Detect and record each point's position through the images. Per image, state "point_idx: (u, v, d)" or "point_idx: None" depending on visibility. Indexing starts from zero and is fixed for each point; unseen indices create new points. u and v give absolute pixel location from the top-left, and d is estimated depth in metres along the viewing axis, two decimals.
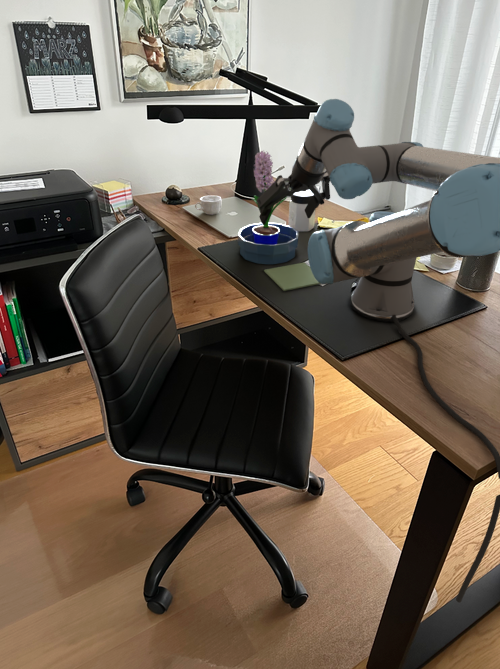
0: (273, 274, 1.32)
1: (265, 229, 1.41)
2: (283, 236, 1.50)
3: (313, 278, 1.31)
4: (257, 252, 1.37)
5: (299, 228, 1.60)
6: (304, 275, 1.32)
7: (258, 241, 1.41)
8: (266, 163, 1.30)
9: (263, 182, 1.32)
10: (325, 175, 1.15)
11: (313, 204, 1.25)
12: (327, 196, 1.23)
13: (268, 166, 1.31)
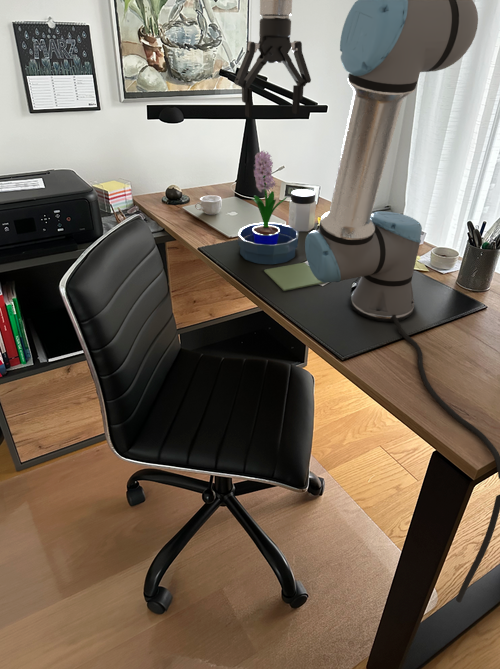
0: (273, 274, 1.32)
1: (265, 229, 1.41)
2: (283, 236, 1.50)
3: (313, 278, 1.31)
4: (257, 252, 1.37)
5: (299, 228, 1.60)
6: (304, 275, 1.32)
7: (258, 241, 1.41)
8: (266, 163, 1.30)
9: (263, 182, 1.32)
10: (295, 42, 1.17)
11: (296, 91, 1.23)
12: (307, 76, 1.21)
13: (268, 166, 1.31)
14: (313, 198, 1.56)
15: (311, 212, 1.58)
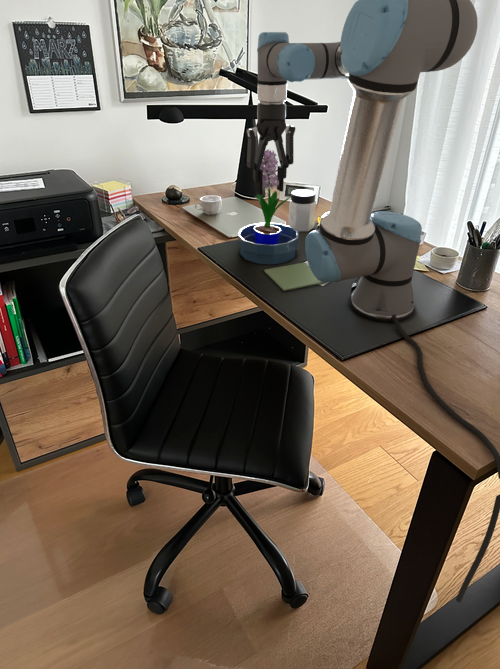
0: (273, 274, 1.32)
1: (266, 228, 1.41)
2: (283, 236, 1.50)
3: (313, 278, 1.31)
4: (257, 252, 1.37)
5: (299, 228, 1.60)
6: (304, 275, 1.32)
7: (259, 240, 1.41)
8: (271, 162, 1.31)
9: (267, 180, 1.33)
10: (290, 126, 1.28)
11: (280, 172, 1.33)
12: (291, 158, 1.32)
13: (273, 165, 1.31)
14: (313, 198, 1.56)
15: (311, 212, 1.58)
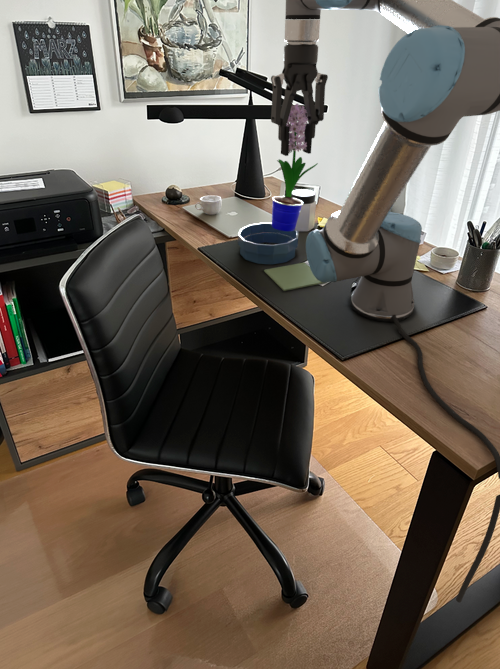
0: (273, 274, 1.32)
1: (287, 199, 1.22)
2: (283, 236, 1.50)
3: (313, 278, 1.31)
4: (257, 252, 1.37)
5: (299, 228, 1.60)
6: (304, 275, 1.32)
7: (278, 212, 1.22)
8: (300, 118, 1.12)
9: (294, 141, 1.14)
10: (321, 74, 1.09)
11: (308, 130, 1.14)
12: (321, 113, 1.13)
13: (302, 123, 1.13)
14: (313, 198, 1.56)
15: (311, 212, 1.58)
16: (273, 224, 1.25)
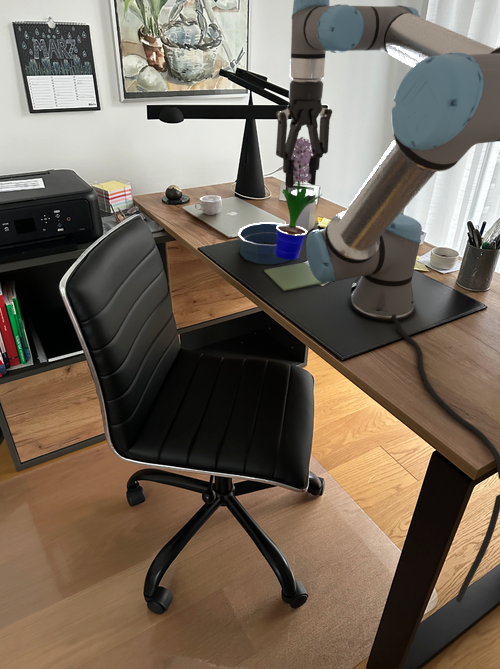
0: (273, 274, 1.32)
1: (291, 228, 1.23)
2: None
3: (313, 278, 1.31)
4: (257, 252, 1.37)
5: None
6: (304, 275, 1.32)
7: (282, 241, 1.23)
8: (305, 151, 1.14)
9: (298, 173, 1.15)
10: (326, 108, 1.11)
11: (312, 162, 1.16)
12: (325, 146, 1.14)
13: (307, 155, 1.14)
14: None
15: (311, 212, 1.58)
16: (277, 252, 1.26)
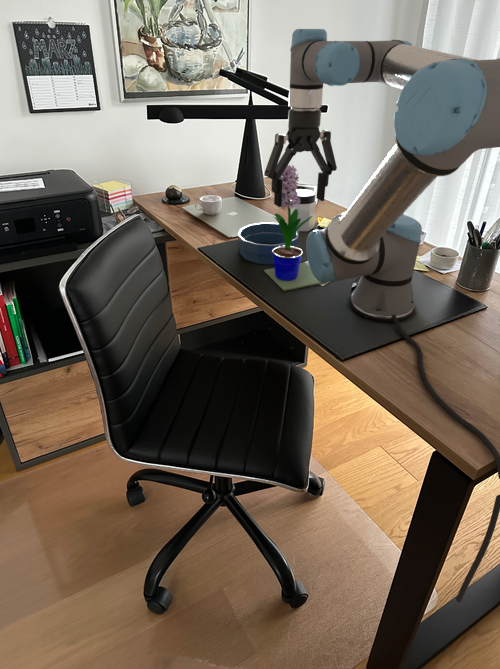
0: (273, 274, 1.32)
1: (287, 251, 1.26)
2: None
3: (313, 278, 1.31)
4: (257, 252, 1.37)
5: (299, 228, 1.60)
6: (304, 275, 1.32)
7: (279, 264, 1.27)
8: (291, 178, 1.16)
9: (287, 199, 1.18)
10: (324, 131, 1.13)
11: (322, 179, 1.19)
12: (333, 164, 1.18)
13: (293, 181, 1.17)
14: (313, 198, 1.56)
15: (311, 212, 1.58)
16: (276, 274, 1.30)
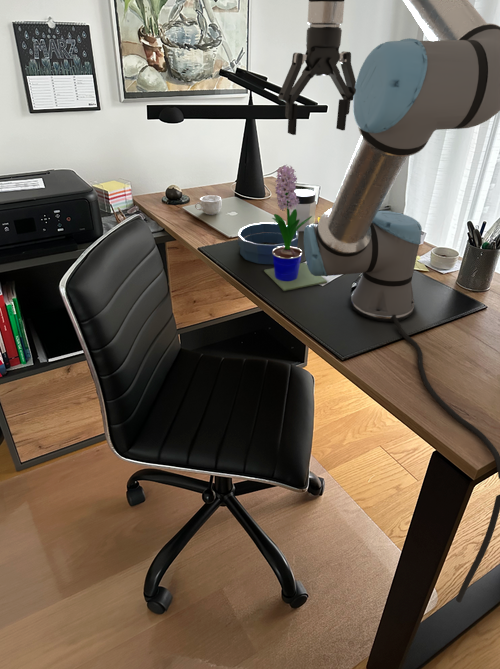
0: (273, 274, 1.32)
1: (286, 251, 1.26)
2: None
3: (313, 278, 1.31)
4: (257, 252, 1.37)
5: (299, 228, 1.60)
6: (304, 275, 1.32)
7: (279, 265, 1.27)
8: (289, 179, 1.15)
9: (286, 200, 1.18)
10: (344, 52, 1.07)
11: (343, 106, 1.13)
12: (355, 89, 1.11)
13: (292, 182, 1.16)
14: (313, 198, 1.56)
15: (311, 212, 1.58)
16: (276, 275, 1.30)
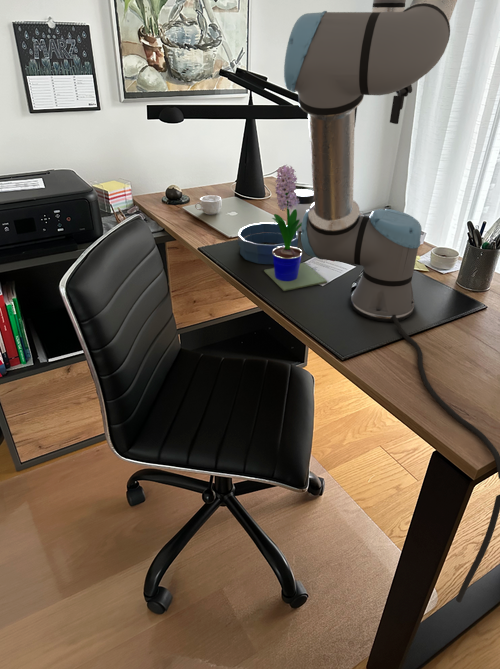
0: (273, 274, 1.32)
1: (286, 251, 1.26)
2: None
3: (313, 278, 1.31)
4: (257, 252, 1.37)
5: (299, 228, 1.60)
6: (304, 275, 1.32)
7: (279, 265, 1.27)
8: (289, 179, 1.15)
9: (286, 200, 1.18)
10: None
11: (397, 102, 1.24)
12: (409, 86, 1.22)
13: (292, 182, 1.16)
14: (313, 198, 1.56)
15: None
16: (276, 275, 1.30)
